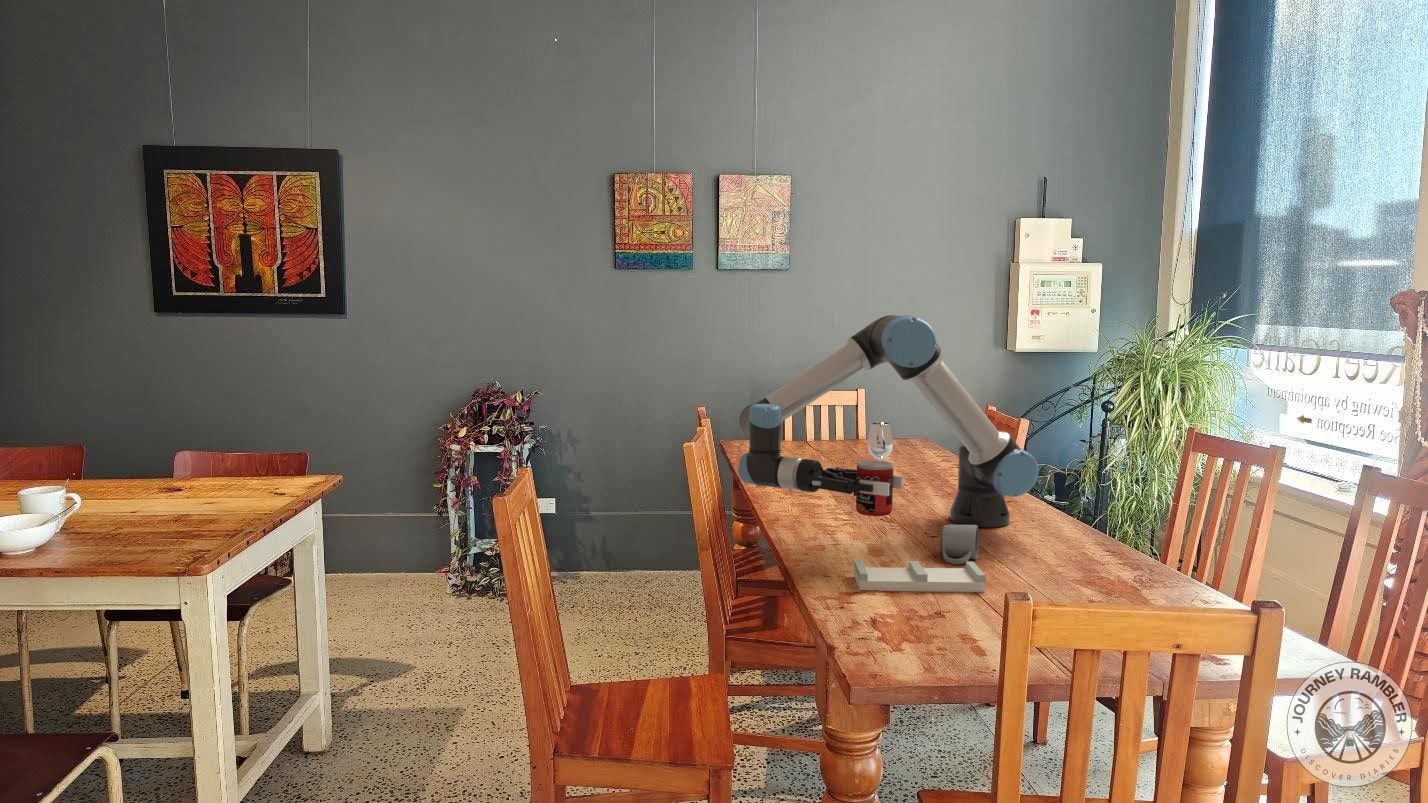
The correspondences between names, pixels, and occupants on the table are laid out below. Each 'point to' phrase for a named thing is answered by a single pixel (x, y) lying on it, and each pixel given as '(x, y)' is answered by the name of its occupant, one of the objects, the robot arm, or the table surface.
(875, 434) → the wineglass
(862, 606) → the table surface
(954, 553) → the ceramic mug
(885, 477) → the canned food
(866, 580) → the rail
